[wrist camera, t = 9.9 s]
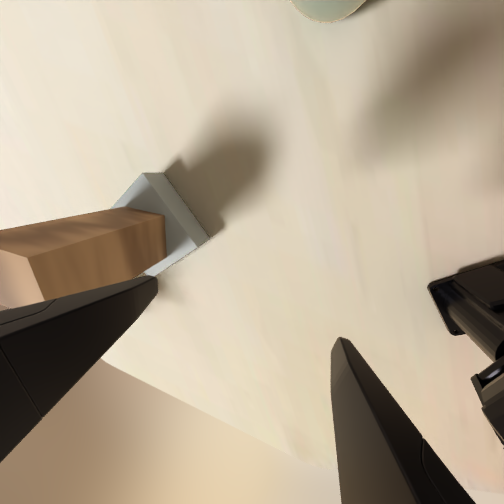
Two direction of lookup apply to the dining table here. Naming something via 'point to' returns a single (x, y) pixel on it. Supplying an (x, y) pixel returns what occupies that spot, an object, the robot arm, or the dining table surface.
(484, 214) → the dining table surface
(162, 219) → the wooden block
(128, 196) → the pedestal
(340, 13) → the cup
